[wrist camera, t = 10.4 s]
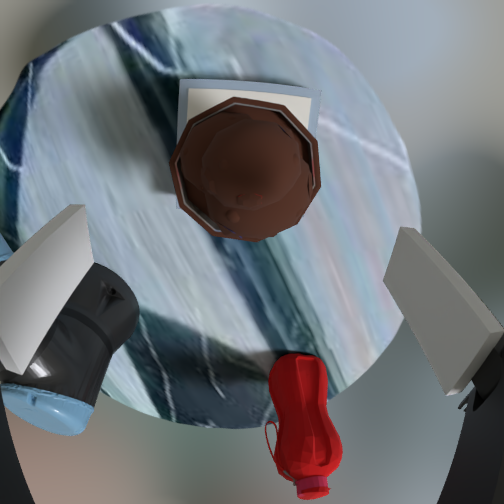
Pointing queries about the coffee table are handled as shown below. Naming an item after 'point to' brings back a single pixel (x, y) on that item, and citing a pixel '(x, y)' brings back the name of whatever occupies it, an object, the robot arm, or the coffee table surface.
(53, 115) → the coffee table surface
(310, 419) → the water bottle
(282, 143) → the ice cream bowl
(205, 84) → the base plinth
